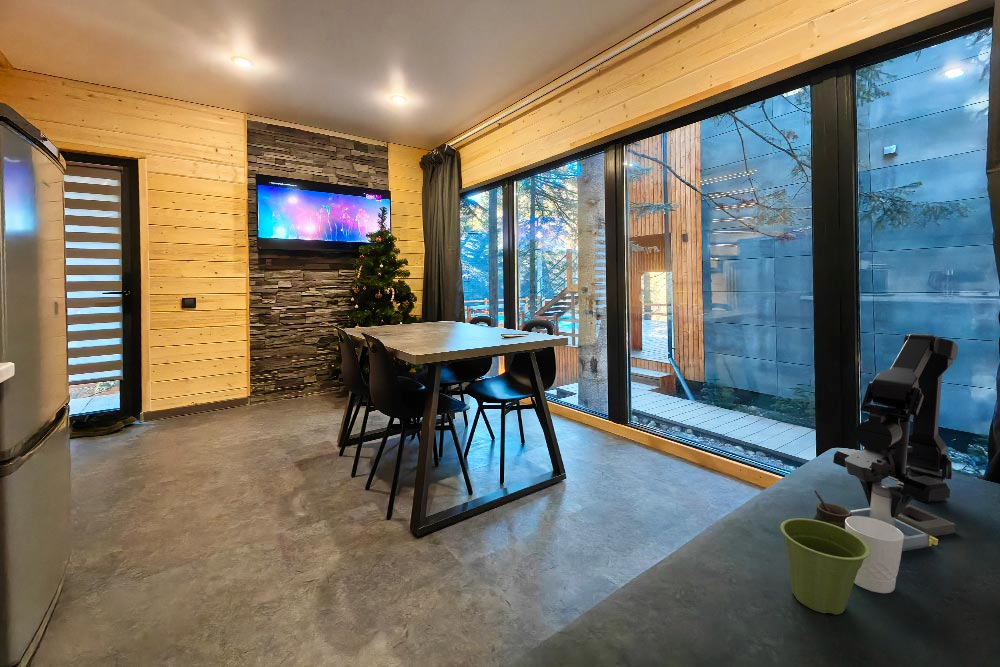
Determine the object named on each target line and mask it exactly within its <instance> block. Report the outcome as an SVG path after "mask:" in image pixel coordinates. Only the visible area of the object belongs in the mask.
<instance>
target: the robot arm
mask: <svg viewBox="0 0 1000 667" xmlns="http://www.w3.org/2000/svg"><path fill="white" fill-rule="evenodd" d="M902 341H903V342H902V347H901V350H900V352H899V353H898V354H897V356H896V358H895V360H893V363H892V365H891V366H890V368H889V369H886V370H883V371H880V372H878V373H877V375H875V377H874V378H873V380H872V381H869V383H868V384H867V388H866V390H865V393H864V397H863V399H862V403H861V406H860V409H859V410H860V412H865V413H869V414H868V419H866V420H864V421H861V422H860V423H859V424H857V425H856V427H855V429H854V433H853V434H854V438H855V440H856V441H857V443H859V445H861V447H863V449H862V450H861V451H860V450H857V449H854V448H852V449H843V450H836V451H835V453H834V454H833V460H832V462H833V464H835V465H838V466H839V467H843V468H846V471H847V474H849V475H850V476H854V477H856V478H857V480H859V482H860V484H861V486H862V489H863V492H864V495H865V498H866V500H867V501H866V502H867V504H868V506H869V507H870V505H871V494H872V484H873V483H875V482H879V483H882V482H883V480H885V479H886V478H888V479H889V480H892V481H895V482H896V486H894V487H888V489H889V490H890V491H891V493H892V502H891V517H893V518H895V517H898V515H899V514H900V513H901V512H902V511H903V509H904V508H905V507H906V506H907V505H908V504H910V502H911V501H913V499H916V500H919V501H921V502H923V503H926V504H929V503H935V502H936V503H937V502H943V501H947V499H950V497H951V496H950V494H951V488H950V486H949V485H948V484H947V482H944V481H946V480H952V479H953V471H954V470H953V463H952V461H951V459H950V456H949V454H947V444H946V443H945V442H944V440H943V439H942V437H941V436H940V435H939V422H940V421H939V420H940V410H941V408H940V407H941V395H942V394H941V393H942V383H943V382H942V381H943V375H944V374H945V373H946V372H947V371H948V370H949V369H950V368H951V367H952V366H953V363H954V361H955V360H957V357H958V354H959V346H958V344H957V343H956V342H954V341H953V340H952V339H949V338H942V337H939V336H937V335H934V334H928V333H913V332H911V333H910V334H906V335H905V337H903V340H902ZM871 403H872V404H871ZM911 420H912V427H911ZM910 428H912V430H911V434H910Z"/></svg>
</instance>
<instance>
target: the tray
mask: <svg viewBox="0 0 1000 667" xmlns="http://www.w3.org/2000/svg"><path fill="white" fill-rule="evenodd" d="M849 511H850V512H851V516H863V517H870V507H866V508H859V509H853V510H852V509H851V510H850V509H849ZM894 527H896V528H898V529H899V530H900V531H901V532H902V533H903V534H904V541H903V547H902V552H905V551H912V550H919V549H923V548H924V549H925V548H929V547H930V546H929V537H930V535H928V534H926V533H924V532H922V531H920V530H918V529H916V528H914V527H912V526H910V525H907V524H905V523H903V522H901V521H899V520H897V519H895V526H894Z"/></svg>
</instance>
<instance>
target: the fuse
mask: <svg viewBox="0 0 1000 667" xmlns="http://www.w3.org/2000/svg"><path fill="white" fill-rule="evenodd" d="M888 487H895V486H894V485H892V484H889V483H885V482H881V483H879V482H875V483H873V484H872V494H871V505H870V506H869V508H870V517H869V518H873V519H877V520H880V521H883V522H886V523H888V524H890V525H892V526H895V518H893V517H891V502H892V493H891V491H890V490H889V489H888Z"/></svg>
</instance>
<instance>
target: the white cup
mask: <svg viewBox="0 0 1000 667" xmlns="http://www.w3.org/2000/svg"><path fill="white" fill-rule="evenodd" d="M845 530H847V531H849V532H851V533H853V534H855V535H856V536H858V537H859V538H860V539H862V540H863V541H864V542H865V543H866V544H867V545H868V547H869V548H870V555H869V556H868V557H867V558H865V559H864V560H863V563H862V565H861V567H860V569H858V572H857V575H856V578H855V581H854V584H855V585H856V586H858V587H860V588H862V589H865V590H867V591H870V592H874V593H879V594H890V593H893V591H895V590H896V589H895V588H896V581H897V576H898V573H899V567H900V563H901V559H902V558H901V557H902V553H903V551H902V547H903V541H904V534H903V533H902V532H901V531H900V530H899V529H898V528H896V527H894V526H892V525H890V524H888V523H886V522H883V521H880V520H877V519H873V518H869V517H863V516H851V517H848V518H846V519H845Z"/></svg>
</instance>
